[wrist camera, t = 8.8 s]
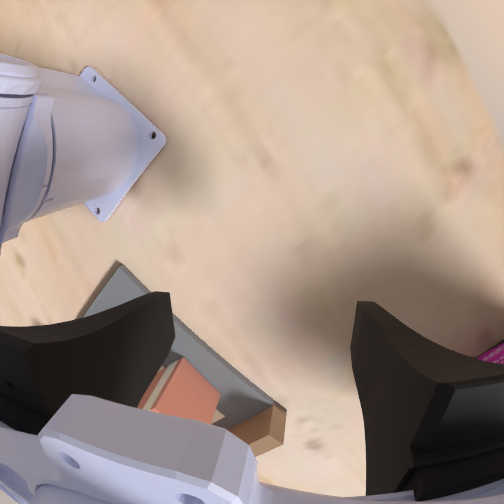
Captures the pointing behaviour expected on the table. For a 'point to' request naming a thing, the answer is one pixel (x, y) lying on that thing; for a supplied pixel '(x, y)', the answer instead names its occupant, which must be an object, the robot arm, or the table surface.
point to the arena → (210, 374)
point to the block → (181, 393)
